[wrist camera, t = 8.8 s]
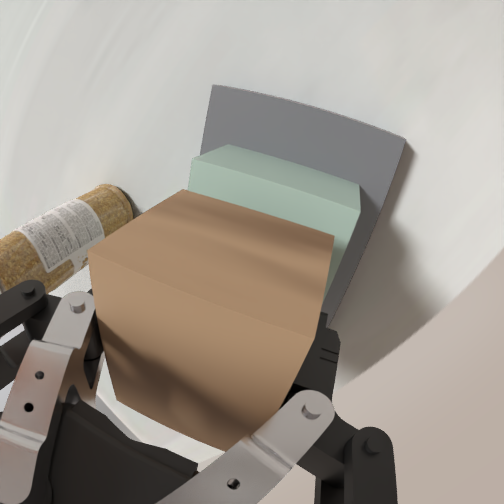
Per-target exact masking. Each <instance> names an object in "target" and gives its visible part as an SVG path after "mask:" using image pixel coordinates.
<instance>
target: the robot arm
mask: <svg viewBox="0 0 504 504" xmlns="http://www.w3.org/2000/svg"><path fill="white" fill-rule="evenodd" d="M327 318H328V314H327V313H324V312H321V311H320V316H319V321H318V325H317V330H316V334H315V338H314V341H313V343H312V345H311V347H310V349H309V351H308V353H307V355H306V357H305V359H304V362H303V364H302V366H301V368H300V370H299V372H298V374H297V376H296V378H295V380H294V382H293V383H292V385H291V387H290V389H289V391H288V393H287V395H286V397H285V399H284V401H283V403H282V405H281V406H280V408H279V410H278V412H277V413H276V414H274V415H273V416H272V417H271V418H270V419H269V420H268V421H267V422H266V423H265V424H264V425H262V426H261V427H260V428H259V429H258V430H257V431H256V432H254V433H253V434H252V435H247V436H245V437H244V438H243V439H241V440H240V441H239V442H237V443H236V444H235V445H234V446H233V447H231V448H230V449H229V450H228V451H227V452H225V453H224V454H223V455H222V456H220V457H219V458H218V459H217V460H215V461H214V462H213V463H211V464H210V465H209V466H208V467H206V468H205V469H204V470H202V471H201V472H198V471H197V467H198V463H196V462H193V461H191V460H189V459H187V458H184V457H182V456H180V455H178V454H176V453H174V452H171V451H169V450H167V449H165V448H160V447H156V446H153V445H149V444H145V443H141V442H137V441H134V440H131V439H130V438H128V437H127V436H126V435H125V434H124V433H123V432H122V431H120V430H119V429H118V428H117V427H116V426H115V425H114V424H113V423H112V422H111V421H110V420H109V419H108V418H107V416H106V415H104V414H102V413H101V412H99V411H98V410H96V403H95V396H96V390H97V386H98V382H99V378H100V374H101V370H102V366H103V362H104V358H105V353H104V349H103V345H102V340H101V335H100V331H99V326H98V320H97V315H96V309H95V304H94V298H93V291H92V289H90V290H89V291H88V292H83V291H76V292H71V293H69V294H67V295H65V296H64V297H63V298H61V297H56V296H52V295H48V294H46V289H45V286H44V284H43V283H42V282H40V281H38V280H26V281H23V282H21V283H19V284H18V285H16V286H14V287H12V288H11V289H9V290H7V291H5V292H4V293H2V294H0V338H1V337H2V336H3V335H5V334H6V333H8V332H9V331H11V330H12V329H14V328H15V327H17V326H18V325H20V324H23V326H24V329H25V330H24V331H23V332H21V333H20V334H18V335H17V336H15V337H14V338H12V339H11V340H9V341H8V342H6V343H5V344H4V345H2V346H0V390H1V389H2V388H4V387H5V386H6V385H8V384H9V383H10V382H12V381H13V380H14V379H15V380H14V383H13V386H12V388H11V391H10V394H9V396H8V399H7V402H6V405H5V408H4V411H3V412H0V504H257V503H258V502H259V501H260V500H261V499H262V498H263V497H264V496H266V495H267V494H268V493H269V492H270V491H271V490H272V489H273V488H274V487H275V486H276V485H277V484H278V483H279V482H280V481H281V480H282V479H283V478H284V477H285V475H286V474H287V473H288V472H289V471H290V470H291V469H292V467H293V466H294V465H295V464H297V465H299V466H300V467H302V468H304V469H305V470H307V471H308V472H310V473H311V474H313V475H315V476H316V481H315V499H314V504H398V503H397V488H396V474H395V463H394V455H393V454H394V453H393V445H392V442H391V440H390V438H389V436H388V435H387V434H386V433H385V432H384V431H382V430H381V429H378V428H375V427H365V428H362V429H360V430H358V429H356V428H354V427H353V426H351V425H349V424H348V423H346V422H345V421H343V420H342V419H341V418H340V417H339V416H338V415H337V413H336V412H335V410H334V406H333V404H332V394H333V389H334V383H335V376H336V370H337V363H338V357H339V356H338V355H339V350H340V340H339V337H338V334H337V331H334V330H331V329H328V328H326V323H327Z"/></svg>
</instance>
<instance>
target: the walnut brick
mask: <svg viewBox="0 0 504 504" xmlns="http://www.w3.org/2000/svg"><path fill="white" fill-rule="evenodd" d="M334 238H335V236H334V235H331V234H328V233H325V232H322V231H319V230H316V229H313V228H310V227H307V226H304V225H300V224H297V223H294V222H291V221H288V220H285V219H282V218H278V217H275V216H272V215H269V214H265V213H262V212H259V211H256V210H252V209H249V208H246V207H243V206H239V205H236V204H232V203H229V202H226V201H222V200H219V199H215V198H212V197H209V196H205V195H202V194H198V193H195V192H191V191H188V190H184V189H183V190H181V191H179V192H177V193H176V194H174V195H172V196H171V197H169V198H167V199H166V200H164V201H162V202H161V203H159V204H157V205H156V206H154V207H153V208H151V209H149V210H148V211H146V212H144V213H143V214H141V215H140V216H138V217H137V218H135V219H133V220H132V221H130V222H129V223H127V224H126V225H124V226H123V227H121V228H119V229H118V230H116V231H115V232H113V233H112V234H110V235H109V236H107V237H106V238H104V239H103V240H101V241H100V242H98V243H97V244H96V245H94V246H93V247H91V248H90V249H88V250H87V253H88V262H89V270H90V278H91V285H92V291H93V298H94V304H95V309H96V315H97V320H98V326H99V331H100V335H101V340H102V345H103V349H104V353H105V358H106V362H107V366H108V370H109V374H110V378H111V381H112V385H113V389H114V392H115V396H116V399H117V401H119V402H121V403H123V404H124V405H126V406H128V407H130V408H132V409H133V410H135V411H137V412H139V413H141V414H143V415H145V416H147V417H149V418H150V419H152V420H154V421H156V422H158V423H160V424H162V425H165V426H167V427H169V428H171V429H173V430H175V431H177V432H179V433H182V434H184V435H186V436H188V437H191V438H193V439H195V440H198V441H200V442H202V443H205V444H207V445H210V446H212V447H215V448H217V449H220V450H222V451H225V452H227V451H228V450H229V449H230V448H231V447H233V446H234V445H235V444H236V443H237V442H239V441H240V440H241V439H243V438H244V437H245V436H247V435H252V434H253V433H254V432H256V431H257V430H258V429H259V428H260V427H261V426H262V425H264V424H265V423H266V422H267V421H268V420H269V419H270V418H271V417H272V416H273V415H274V414H276V413H277V412H278V410H279V408H280V406H281V405H282V403H283V401H284V399H285V397H286V395H287V393H288V391H289V389H290V387H291V385H292V383H293V382H294V380H295V378H296V376H297V374H298V372H299V370H300V368H301V366H302V364H303V362H304V359H305V357H306V355H307V353H308V351H309V349H310V347H311V345H312V343H313V341H314V338H315V334H316V330H317V325H318V321H319V316H320V311H321V307H322V302H323V297H324V292H325V287H326V282H327V277H328V271H329V266H330V261H331V255H332V249H333V244H334Z"/></svg>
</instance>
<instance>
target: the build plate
mask: <svg viewBox="0 0 504 504" xmlns="http://www.w3.org/2000/svg"><path fill="white" fill-rule="evenodd" d="M405 142H406V139H405V138H403V137H401V136H398V135H396V134H393V133H391V132H388V131H386V130H383V129H380V128H378V127H375V126H372V125H369V124H367V123H364V122H361V121H358V120H355V119H352V118H349V117H346V116H343V115H340V114H337V113H334V112H330V111H327V110H324V109H320V108H317V107H314V106H310V105H306V104H303V103H299V102H295V101H291V100H288V99H284V98H279V97H275V96H271V95H267V94H262V93H258V92H253V91H248V90H243V89H238V88H233V87H227V86H222V85H213V86H212V91H211V96H210V101H209V106H208V111H207V117H206V122H205V128H204V134H203V140H202V145H201V151H200V156H198V157H195V158H193V159H192V164H191V170H190V177H189V185H188V191H191V192H195V193H198V194H202V195H205V196H209V197H212V198H215V199H219V200H222V201H226V202H229V203H232V204H236V205H239V206H243V207H246V208H249V209H252V210H256V211H259V212H262V213H265V214H269V215H272V216H275V217H278V218H282V219H285V220H288V221H291V222H294V223H297V224H300V225H304V226H307V227H310V228H313V229H316V230H319V231H322V232H325V233H328V234H331V235H334V236H335V238H334V244H333V249H332V255H331V261H330V266H329V271H328V277H327V282H326V287H325V292H324V297H323V302H322V307H321V312H324V313H327V314H328V318H327V323H326V328H328V326H329V324H330V322H331V320H332V318H333V316H334V314H335V312H336V310H337V308H338V306H339V304H340V302H341V300H342V298H343V296H344V294H345V292H346V290H347V288H348V285H349V283H350V281H351V279H352V277H353V275H354V272H355V270H356V268H357V266H358V264H359V261H360V259H361V257H362V254H363V252H364V250H365V248H366V245H367V243H368V240H369V238H370V236H371V233H372V231H373V229H374V226H375V224H376V221H377V219H378V216H379V214H380V211H381V209H382V206H383V203H384V201H385V198H386V196H387V193H388V190H389V188H390V185H391V182H392V179H393V177H394V174H395V171H396V168H397V165H398V163H399V160H400V157H401V154H402V151H403V148H404V145H405Z"/></svg>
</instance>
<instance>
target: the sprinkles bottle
mask: <svg viewBox="0 0 504 504" xmlns="http://www.w3.org/2000/svg"><path fill="white" fill-rule="evenodd" d="M132 220H133V212H132V209H131V205H130V203H129V201H128V200H127V198H126V197H125V195H124V194H123V193H122V191H121V190H119V189H118V188H117V187H116V186H113V185H109V184H103V185H99V186H97V187H96V188H94V189H93V190H92V191H91V192H88V193H86V194H84V195H82V196H80V197H78V198H76V199H72V200H69V201H67V202H65V203H63V204H61V205H59V206H57V207H55V208H53V209H51V210H49V211H48V212H46V213H44V214H42V215H40V216H38V217H36V218H34V219H32V220H31V221H29V222H27V223H25V224H24V225H22V226H20V227H18V228H16V229H15V230H13V231H12V232H11V233H10V234H9V235H7V236H5V237H4V238H2V239H0V294H2V293H4V292H5V291H7V290H9V289H11V288H12V287H14V286H16V285H18V284H19V283H21V282H23V281H26V280H38V281H40V282H42V283H43V284H44V286H45V289H46V294H48V293H49V292H51V291H53V290H55V289H56V288H58V287H59V286H60V285H62V284H63V283H64V282H65V281H67V280H68V279H69V278H71V277H72V276H73V275H75V274H76V273H77V272H78V271H80V270H81V269H83V268H84V267H85V266H87V265H88V264H89V262H88V253H87V250H88V249H90V248H91V247H93V246H94V245H96V244H97V243H98V242H100V241H101V240H103V239H104V238H106V237H107V236H109V235H110V234H112V233H113V232H115V231H116V230H118V229H119V228H121V227H123V226H124V225H126V224H127V223H129V222H130V221H132ZM3 336H4V335H3ZM3 336H2V337H3ZM0 339H1V338H0Z"/></svg>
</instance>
